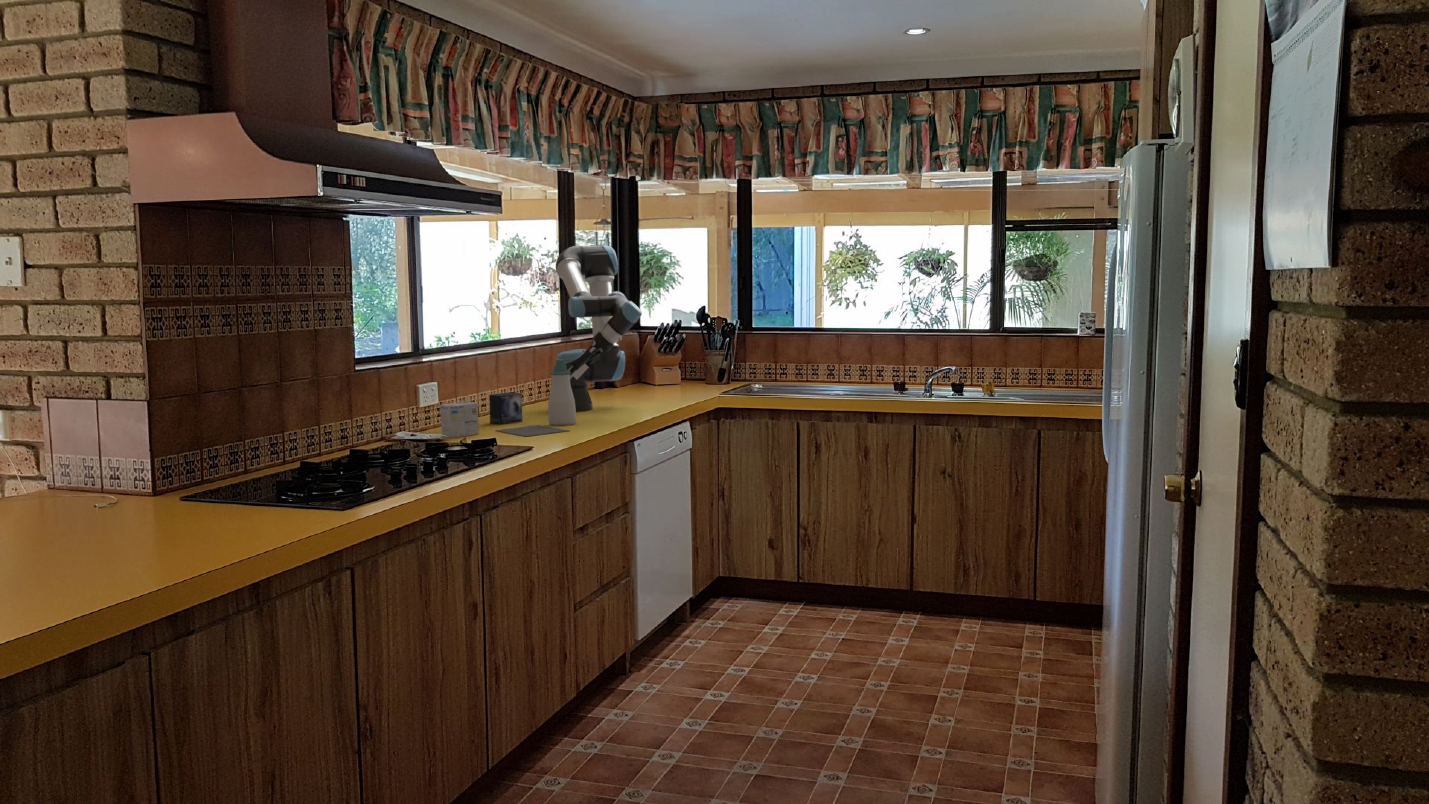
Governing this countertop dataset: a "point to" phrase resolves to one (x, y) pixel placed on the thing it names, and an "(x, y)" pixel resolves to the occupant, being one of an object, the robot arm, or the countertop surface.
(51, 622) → the countertop surface
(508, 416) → the small box
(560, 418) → the soap bottle
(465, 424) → the light bulb box
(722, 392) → the countertop surface
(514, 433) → the charcoal mat
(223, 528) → the countertop surface
